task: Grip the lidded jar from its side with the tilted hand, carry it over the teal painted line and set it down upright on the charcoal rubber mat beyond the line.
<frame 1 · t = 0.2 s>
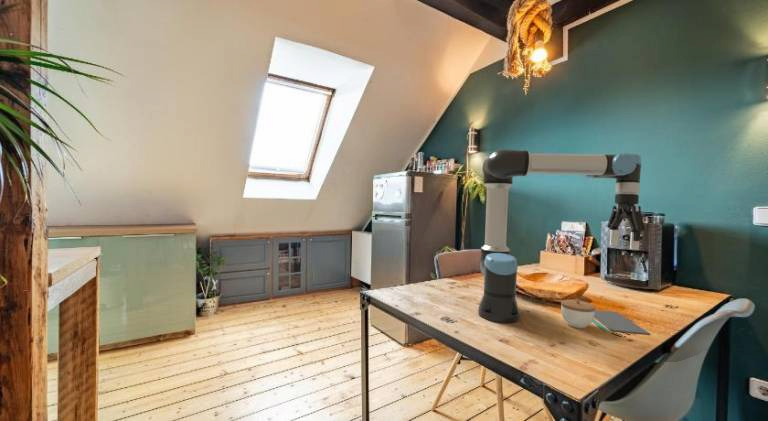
hand: (623, 247, 128), 27 cm above the table, tool pointing down, fingers open, 13 cm apart
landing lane: (605, 320, 124), on the table
lidded jar: (576, 325, 118), on the table
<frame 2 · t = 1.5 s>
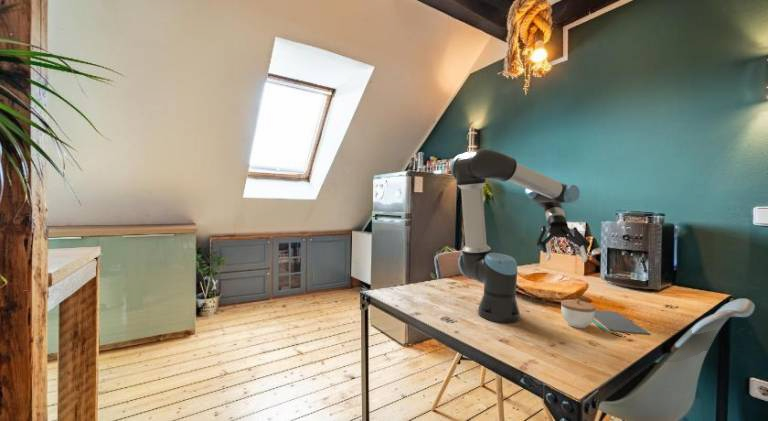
hand: (567, 259, 131), 22 cm above the table, tool tilted 45°, fingers open, 13 cm apart
nothing on the table moved.
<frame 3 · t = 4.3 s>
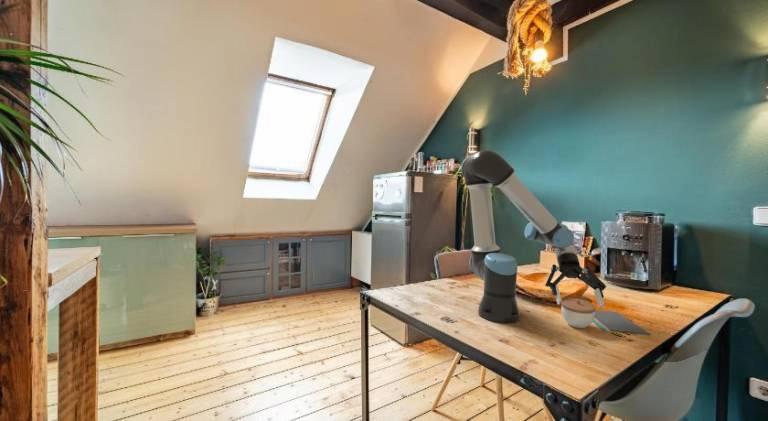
hand: (580, 305, 119), 7 cm above the table, tool tilted 45°, fingers open, 13 cm apart
lidded jar: (576, 324, 118), on the table, touching gripper
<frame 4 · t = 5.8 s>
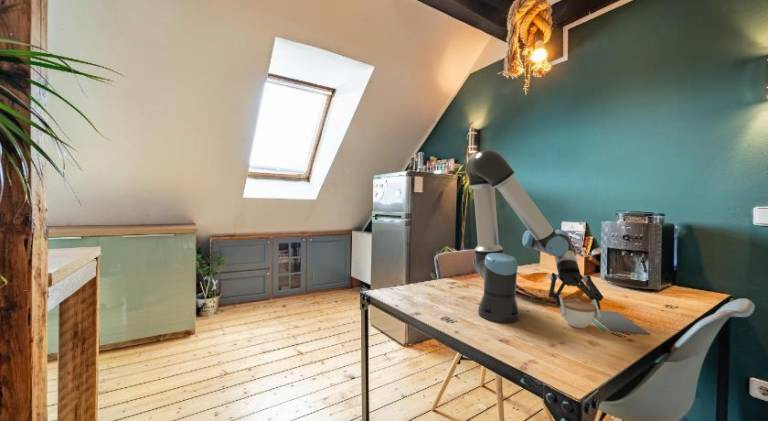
hand: (580, 316, 115), 4 cm above the table, tool tilted 45°, fingers closed on lidded jar, 11 cm apart
lidded jar: (576, 325, 118), on the table, touching gripper
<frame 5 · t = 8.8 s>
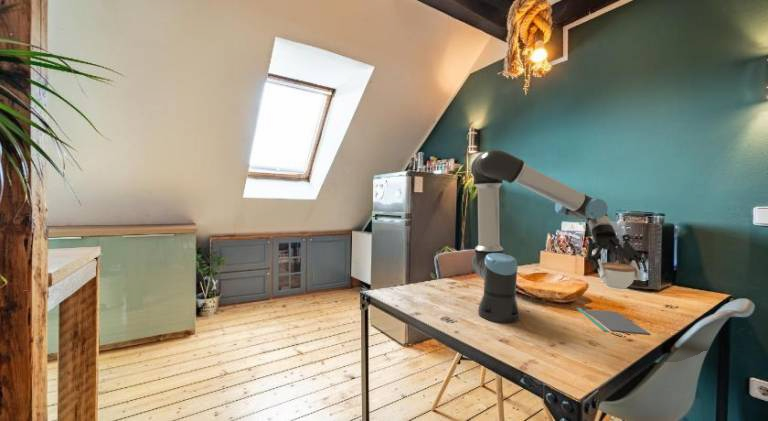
hand: (620, 277, 115), 19 cm above the table, tool tilted 45°, fingers closed on lidded jar, 11 cm apart
lidded jar: (616, 287, 118), point 14 cm above the table, touching gripper
when the fingers open (6 cm above the table, at t = 11.9 s): lidded jar moves 1 cm, resting on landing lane.
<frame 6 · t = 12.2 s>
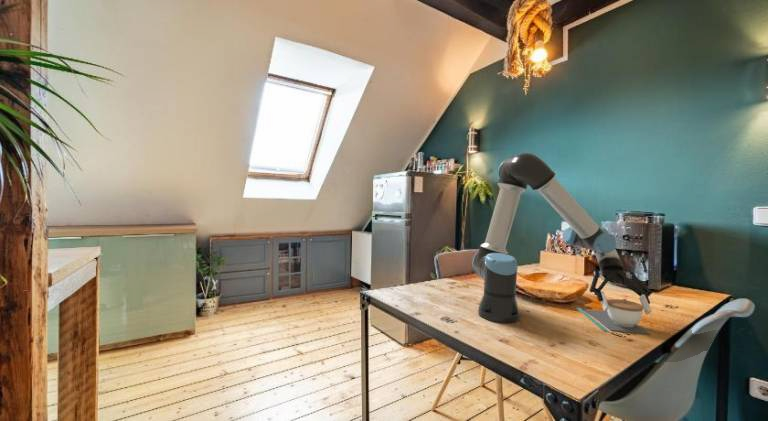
hand: (627, 311, 117), 6 cm above the table, tool tilted 45°, fingers open, 13 cm apart
lidded jar: (623, 324, 119), resting on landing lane
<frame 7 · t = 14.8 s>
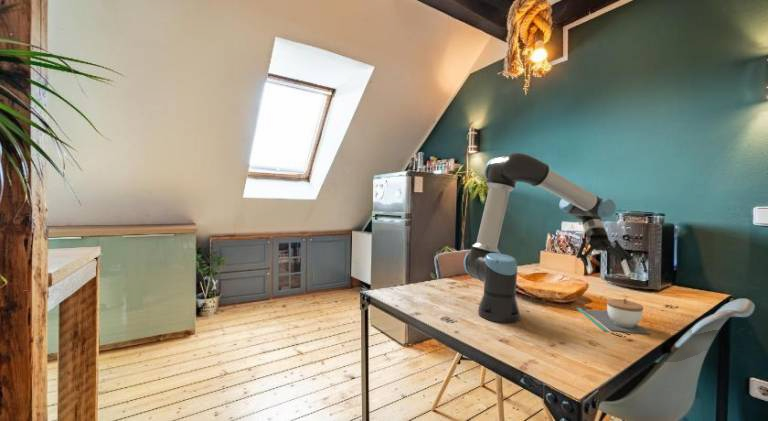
hand: (609, 273, 129), 17 cm above the table, tool tilted 45°, fingers open, 13 cm apart
nothing on the table moved.
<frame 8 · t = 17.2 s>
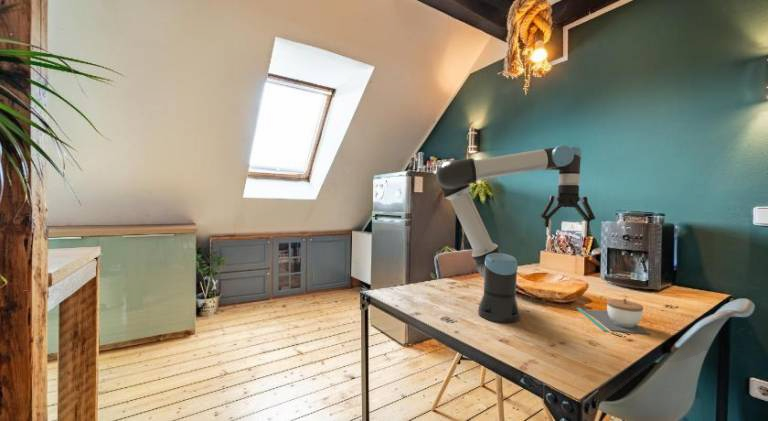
hand: (566, 236, 135), 31 cm above the table, tool pointing down, fingers open, 13 cm apart
nothing on the table moved.
at the end: lidded jar inside the target area (2.0 cm from its centre), resting on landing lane; lidded jar tilted 0°; the gripper is holding nothing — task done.
